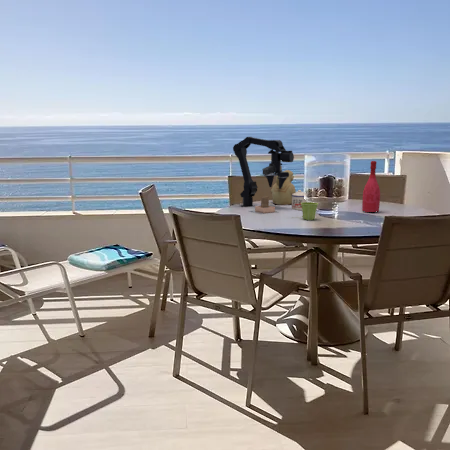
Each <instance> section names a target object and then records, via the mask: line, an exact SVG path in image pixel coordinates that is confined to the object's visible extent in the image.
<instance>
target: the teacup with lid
mask: <svg viewBox="0 0 450 450" xmlns="http://www.w3.org/2000/svg"><path fill="white" fill-rule="evenodd" d="M304 194H305V192H303V191H302V190H301V189H299V190H297V191H296V193H294V194H292V204H291V210H295V211H302V206H301V203H303V202H307V199H306V200H305V199H304Z"/></svg>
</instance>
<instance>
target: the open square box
mask: <svg viewBox="0 0 450 450" xmlns="http://www.w3.org/2000/svg"><path fill="white" fill-rule="evenodd" d="M254 209H255V211H256V212H260V213H268V214H274V213H273V212H275V211H276V207H275V206H272V205H269V207H266V208H262V207H261V205H254Z"/></svg>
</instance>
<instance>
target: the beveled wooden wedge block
mask: <svg viewBox="0 0 450 450" xmlns="http://www.w3.org/2000/svg"><path fill="white" fill-rule="evenodd" d="M269 202H270V198H269V196H261V197H260V206H261V207H262V208H266V207H269V206H270V205H269V204H270V203H269Z"/></svg>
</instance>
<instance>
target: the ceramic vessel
mask: <svg viewBox="0 0 450 450" xmlns="http://www.w3.org/2000/svg"><path fill="white" fill-rule="evenodd" d="M282 167H283V165H281V170H282V169H283V168H282ZM282 172H288V173H289V177H288V178H286V180H285V182H284V184H283V186H282V188H281V189H279V180H278V178H277V177H278V176H277V175H276V178H275V183H274V184H272V187H271V189H270V193H271V194H272V195H271V197H272V199H271V200H272V203H273V204H274V205H277V206H280V205H282V206H289V205H292V194H294V193H296V192H297V191H296V186H295V185H294V184H293V183H292V182H293V181H294V172H293V171H292V170H289V169H287V170H284V171H283V170H282Z"/></svg>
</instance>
